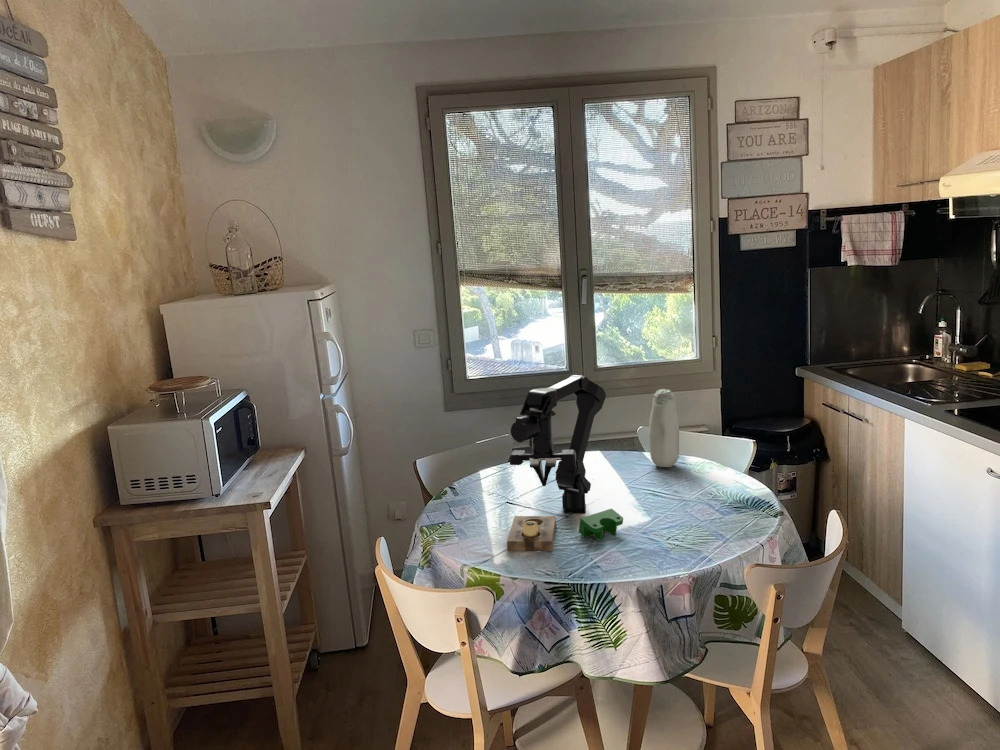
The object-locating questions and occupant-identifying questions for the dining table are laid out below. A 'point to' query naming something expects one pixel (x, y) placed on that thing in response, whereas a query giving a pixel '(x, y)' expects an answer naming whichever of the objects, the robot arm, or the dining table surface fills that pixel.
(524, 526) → the brass sleeve
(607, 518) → the clamp
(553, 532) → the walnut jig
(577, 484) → the robot arm
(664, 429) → the white bottle
